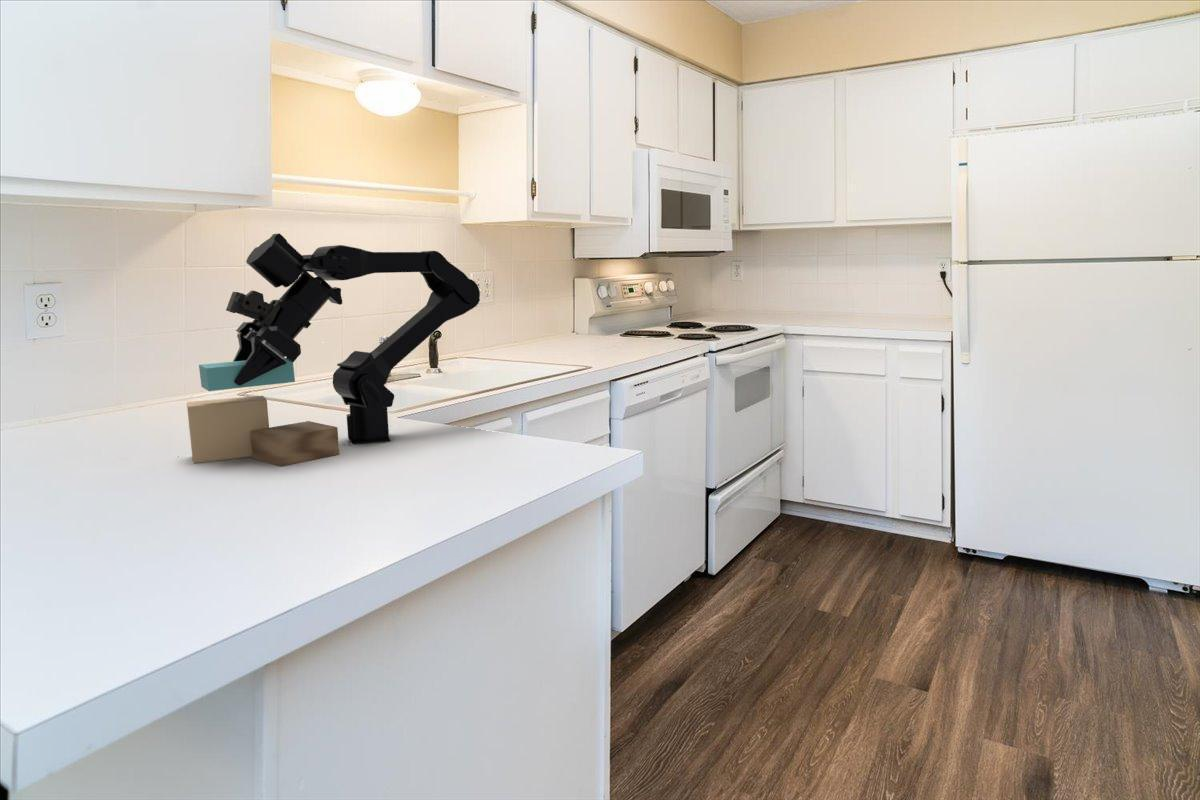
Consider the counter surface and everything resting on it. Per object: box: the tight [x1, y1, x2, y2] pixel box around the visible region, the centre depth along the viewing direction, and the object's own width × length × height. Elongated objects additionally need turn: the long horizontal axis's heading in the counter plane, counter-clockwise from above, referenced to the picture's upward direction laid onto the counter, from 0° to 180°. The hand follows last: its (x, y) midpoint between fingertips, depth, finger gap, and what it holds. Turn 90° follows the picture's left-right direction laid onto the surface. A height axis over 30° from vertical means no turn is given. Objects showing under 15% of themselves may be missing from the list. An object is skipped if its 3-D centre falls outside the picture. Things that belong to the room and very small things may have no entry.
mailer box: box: [186, 395, 270, 464], centre depth 128 cm, size 11×5×9 cm, turn 119°
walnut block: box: [250, 420, 340, 467], centre depth 127 cm, size 10×9×4 cm
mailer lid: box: [198, 357, 296, 392], centre depth 125 cm, size 13×7×4 cm, turn 125°
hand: (231, 381), depth 124 cm, fingers closed on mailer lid, 7 cm apart
